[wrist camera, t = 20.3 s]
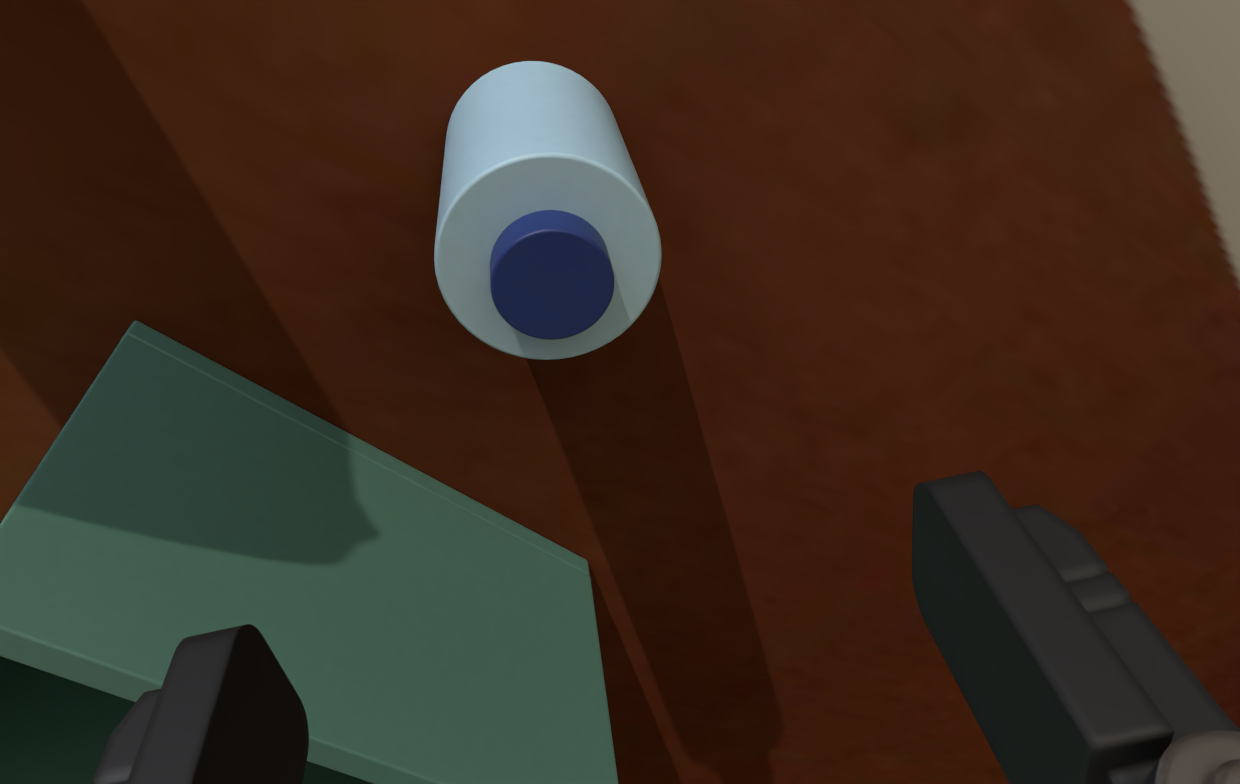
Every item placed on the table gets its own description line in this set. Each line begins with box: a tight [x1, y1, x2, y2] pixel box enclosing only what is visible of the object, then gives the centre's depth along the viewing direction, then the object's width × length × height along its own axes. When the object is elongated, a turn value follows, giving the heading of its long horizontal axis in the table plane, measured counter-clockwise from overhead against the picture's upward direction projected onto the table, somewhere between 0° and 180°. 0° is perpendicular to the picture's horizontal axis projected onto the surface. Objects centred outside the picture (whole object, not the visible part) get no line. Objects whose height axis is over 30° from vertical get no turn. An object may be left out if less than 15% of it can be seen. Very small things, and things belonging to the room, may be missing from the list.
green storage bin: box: [0, 321, 618, 784], centre depth 27 cm, size 17×14×11 cm
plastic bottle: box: [434, 61, 662, 360], centre depth 21 cm, size 5×5×8 cm
